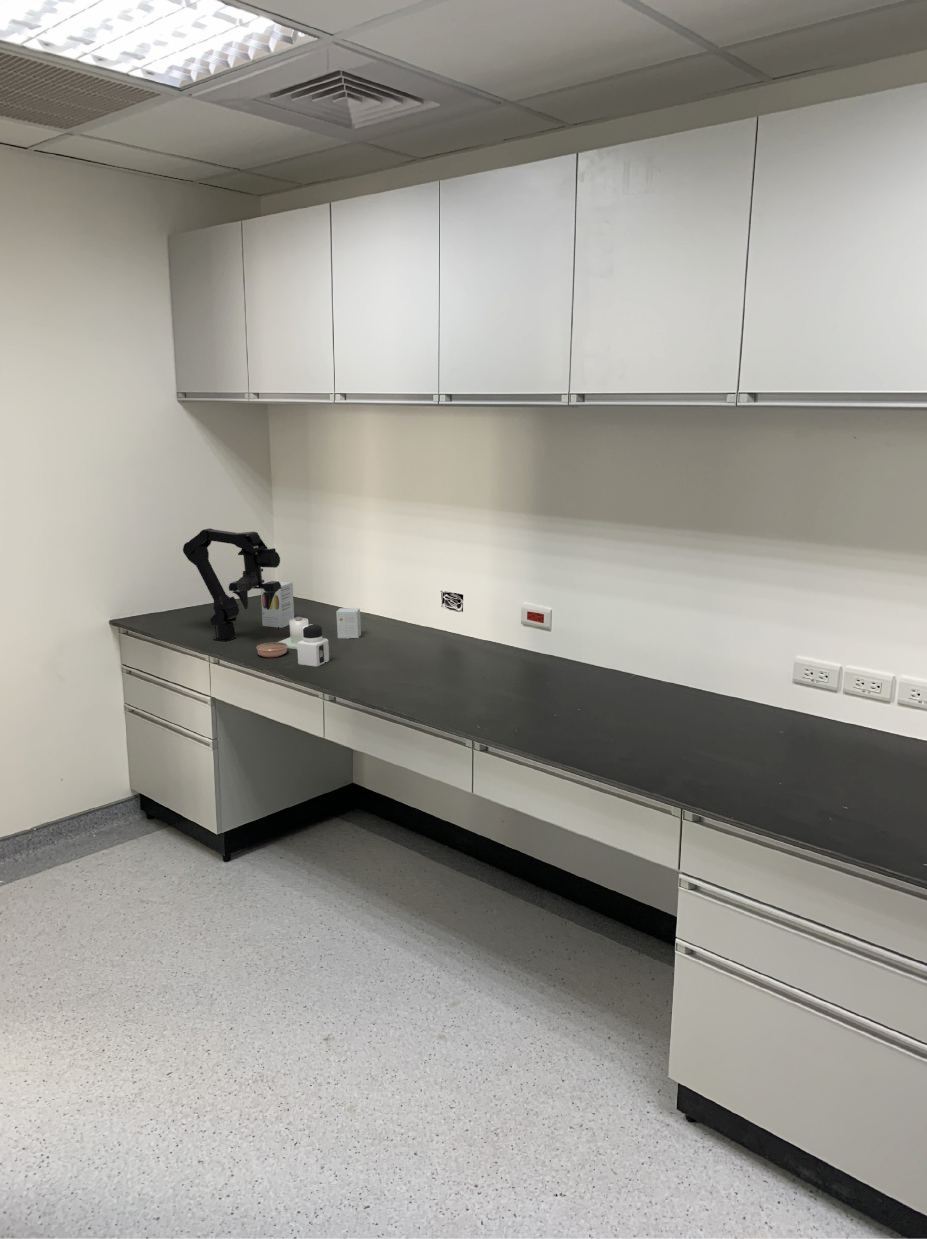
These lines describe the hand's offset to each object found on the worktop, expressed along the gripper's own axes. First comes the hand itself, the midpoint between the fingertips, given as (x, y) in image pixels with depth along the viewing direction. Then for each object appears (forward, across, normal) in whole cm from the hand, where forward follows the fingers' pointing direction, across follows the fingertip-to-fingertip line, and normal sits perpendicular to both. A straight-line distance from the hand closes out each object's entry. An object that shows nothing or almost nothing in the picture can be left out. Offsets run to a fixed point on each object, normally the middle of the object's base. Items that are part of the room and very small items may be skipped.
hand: (257, 609), depth 322 cm
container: (+15, +31, -16) cm, 38 cm away
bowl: (+13, +12, -12) cm, 22 cm away
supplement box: (+12, -8, +27) cm, 30 cm away
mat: (+13, +14, +4) cm, 20 cm away
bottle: (+13, +14, +4) cm, 19 cm away
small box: (+14, +27, +18) cm, 36 cm away
